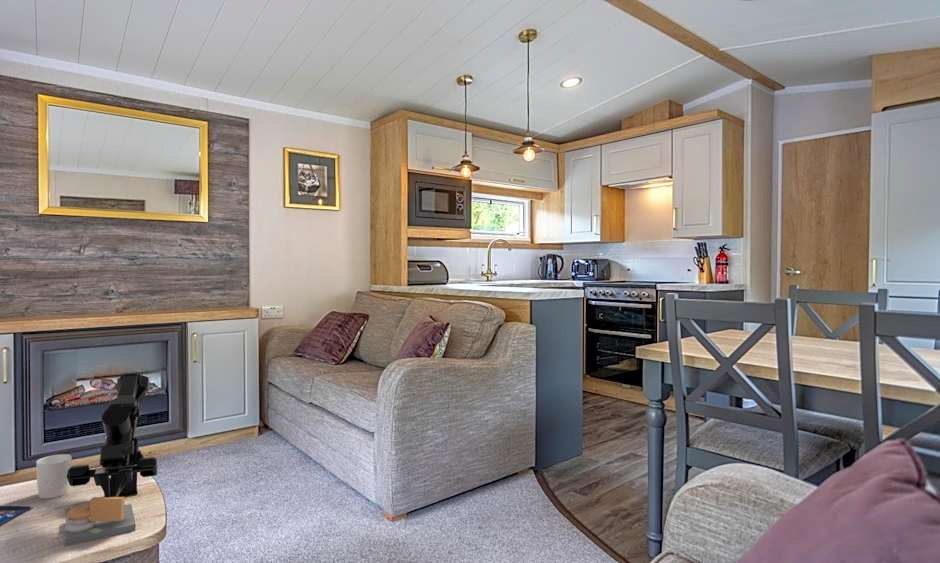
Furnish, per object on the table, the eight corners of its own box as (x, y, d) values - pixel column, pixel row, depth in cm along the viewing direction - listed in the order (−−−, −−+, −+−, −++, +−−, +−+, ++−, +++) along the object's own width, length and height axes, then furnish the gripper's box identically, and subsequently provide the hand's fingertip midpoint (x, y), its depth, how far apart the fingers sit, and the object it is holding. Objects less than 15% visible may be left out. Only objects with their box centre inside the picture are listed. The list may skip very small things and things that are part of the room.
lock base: (131, 509, 140) (131, 494, 140) (135, 530, 128) (136, 514, 128) (66, 522, 131) (66, 506, 131) (64, 547, 120) (65, 529, 120)
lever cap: (61, 525, 123) (62, 503, 123) (75, 515, 129) (76, 494, 129) (116, 524, 125) (117, 502, 125) (128, 514, 130) (128, 493, 130)
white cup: (31, 501, 143) (32, 465, 143) (39, 491, 150) (40, 456, 150) (67, 497, 146) (68, 461, 146) (73, 486, 153) (74, 452, 153)
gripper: (69, 434, 128) (56, 496, 119) (157, 426, 137) (152, 484, 127) (75, 455, 135) (64, 516, 126) (159, 446, 144) (154, 502, 134)
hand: (109, 504), depth 128 cm, fingers closed
